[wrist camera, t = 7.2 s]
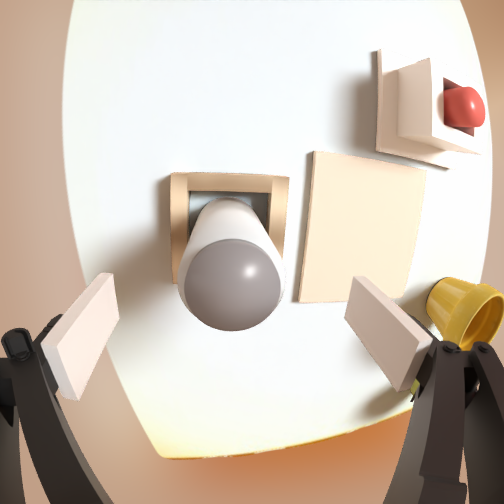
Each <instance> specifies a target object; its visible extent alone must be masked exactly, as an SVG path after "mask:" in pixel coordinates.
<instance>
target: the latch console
mask: <svg viewBox="0 0 504 504" xmlns="http://www.w3.org/2000/svg"><path fill="white" fill-rule="evenodd" d="M377 61H378V111H377V134H376V150H375V151H379V152H384V153H389V154H393V155H398V156H402V157H407V158H411V159H415V160H419V161H423V162H427V163H431V164H434V165H438V166H442V167H445V168H449V169H454V170H455V166H456V153H457V152H463V153H472V154H479V155H481V154H482V126H480V127H449V126H446V125H444V98H443V90H446V89H452V88H459V87H466V86H470V87H472V88H474V89H475V90H476V91H477V92H478V93H479V95H480V96H481V85H479V84H477V83H476V82H474V81H473V80H471V79H469V78H468V77H466V76H464V75H463V74H461V73H459V72H457V71H456V70H454V69H452V68H450V67H448V66H446V65H444V64H442V63H441V62H439V61H437V60H435V59H433V58H427V59H424V60H421V61H418V62H415V61H413V60H411V59H408V58H406V57H403V56H401V55H398V54H395V53H393V52H390V51H387V50H384V49H382V48H381V49H380V50H378V51H377ZM481 98H482V96H481Z"/></svg>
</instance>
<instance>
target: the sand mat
mask: <svg viewBox="0 0 504 504" xmlns="http://www.w3.org/2000/svg"><path fill="white" fill-rule="evenodd" d="M426 171H427V170H423V169H418V168H414V167H409V166H405V165H400V164H395V163H390V162H385V161H380V160H374V159H369V158H363V157H357V156H350V155H344V154H337V153H330V152H322V151H314V154H313V167H312V179H311V191H310V202H309V212H308V222H307V231H306V240H305V249H304V257H303V265H302V273H301V281H300V288H299V295H298V301H299V302H300V303H313V302H338V301H348V299H349V294H350V289H351V284H352V279H353V276H365V277H367V278H368V279H369V280H370V281H371V282H372V283H373V284H374V285H376V286H377V287H378V288H379V289H380V290H381V291H382V292H383V293H385V294H386V295H387V296H388V297H389V298H402V297H403V294H404V290H405V286H406V283H407V279H408V275H409V271H410V267H411V262H412V258H413V253H414V249H415V244H416V239H417V234H418V228H419V223H420V217H421V211H422V204H423V197H424V189H425V181H426Z"/></svg>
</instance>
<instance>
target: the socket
mask: <svg viewBox="0 0 504 504" xmlns="http://www.w3.org/2000/svg"><path fill="white" fill-rule="evenodd" d="M288 189H289V177H286V176H277V175H261V174H240V173H204V172H174V173H171V188H170V214H171V255H172V276H173V284H177V274H178V269H179V265H180V262H181V259H182V257H183V254H184V252H185V249H186V247H187V244H188V241H189V191H235V192H260V193H268V200H267V215H266V229H265V231H266V232H267V234H268V236H269V237H270V239H271V241H272V243H273V244H274V246H275V248H276V249H277V251H278V253H279V255H280V256H281V258H283V247H284V237H285V226H286V214H287V202H288Z"/></svg>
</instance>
